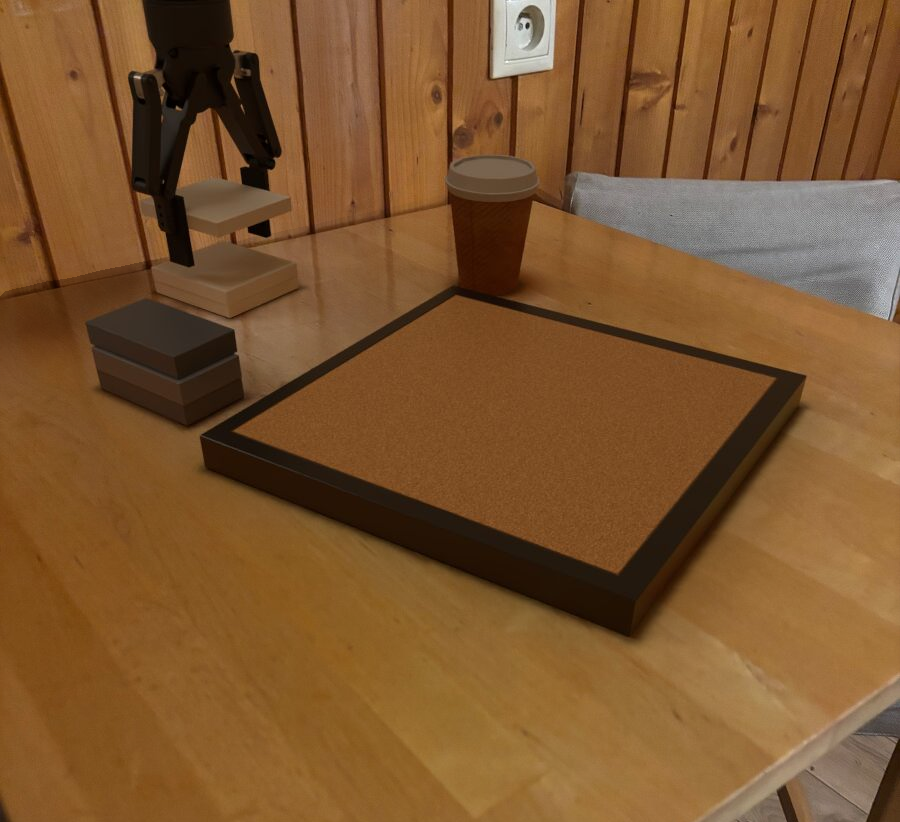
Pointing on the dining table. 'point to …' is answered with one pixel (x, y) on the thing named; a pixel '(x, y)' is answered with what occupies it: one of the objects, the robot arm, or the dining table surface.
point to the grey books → (166, 360)
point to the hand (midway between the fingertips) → (222, 248)
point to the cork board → (518, 446)
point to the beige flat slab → (224, 206)
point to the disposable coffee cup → (490, 219)
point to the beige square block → (227, 279)
